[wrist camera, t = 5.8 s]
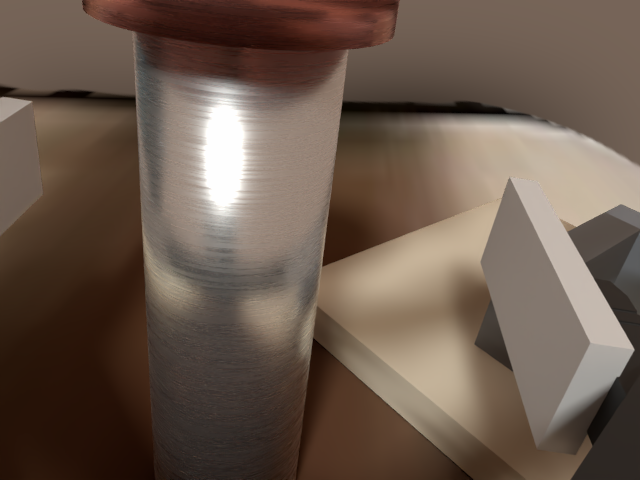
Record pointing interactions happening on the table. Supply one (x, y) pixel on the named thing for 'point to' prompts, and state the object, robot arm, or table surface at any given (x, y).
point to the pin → (236, 214)
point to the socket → (456, 336)
